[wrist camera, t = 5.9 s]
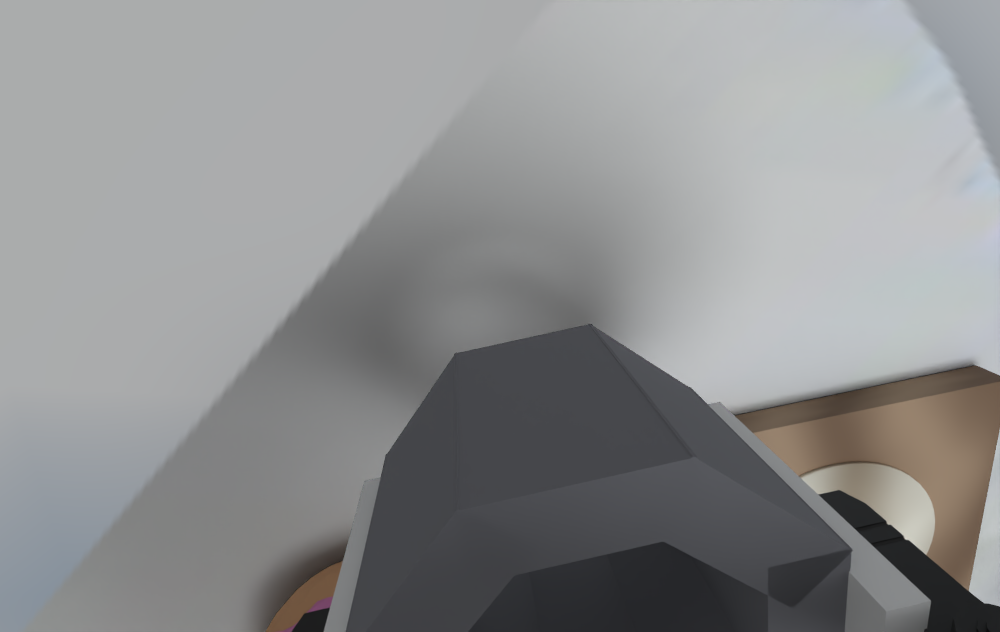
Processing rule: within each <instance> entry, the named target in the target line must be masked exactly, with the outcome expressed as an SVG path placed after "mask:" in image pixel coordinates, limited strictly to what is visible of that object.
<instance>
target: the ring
mask: <svg viewBox="0 0 1000 632" xmlns="http://www.w3.org/2000/svg"><path fill="white" fill-rule="evenodd" d="M852 551H853V550H852V548H851V547H850V546H849V545H848V544H847V543H846V542H845V541H844V540H843V539H842V538H841V537H840V536H839V535H838V534H837V533H836V532H835V531H834V530H833V529H832V528H831V527H830V526H829V525H828V524H827V523H826V522H825V521H824V520H823V519H822V518H821V517H820V516H819V515H818V514H817V513H816V512H815V511H814V510H813V509H812V508H811V507H810V506H809V505H808V504H807V503H806V502H805V501H804V500H803V499H802V498H801V497H800V496H799V495H798V494H797V493H796V492H795V491H794V490H793V489H792V488H791V487H790V486H789V485H788V484H787V483H786V482H785V481H784V480H783V479H782V478H781V477H780V476H779V475H778V474H777V473H776V472H775V471H774V470H773V469H772V468H771V467H770V466H769V465H768V464H767V463H766V462H765V461H764V460H763V459H762V458H761V457H760V456H759V455H758V454H757V453H756V452H755V451H754V450H753V449H752V448H751V447H750V446H749V445H748V444H747V443H746V442H745V441H744V440H743V439H742V438H741V437H740V436H739V435H738V434H737V433H736V432H735V431H734V430H733V429H732V428H731V427H730V426H729V425H728V424H727V423H726V422H725V421H724V420H723V419H722V418H721V417H720V416H719V415H718V414H717V413H716V412H715V411H714V410H713V409H712V408H711V407H710V406H709V405H708V404H707V403H706V402H705V401H704V400H703V399H702V398H701V397H700V396H699V395H698V394H697V393H696V392H695V391H694V390H693V389H692V388H691V387H688V386H686V385H685V384H683V383H681V382H680V381H678V380H677V379H675V378H674V377H672V376H670V375H669V374H667V373H666V372H664V371H663V370H661V369H660V368H658V367H656V366H655V365H653V364H652V363H650V362H649V361H647V360H645V359H644V358H642V357H641V356H639V355H638V354H636V353H634V352H633V351H631V350H630V349H628V348H627V347H625V346H623V345H622V344H620V343H619V342H617V341H616V340H614V339H613V338H611V337H609V336H608V335H606V334H605V333H603V332H602V331H600V330H598V329H597V328H595V327H594V326H593V325H592V324H588V325H584V326H580V327H575V328H571V329H566V330H561V331H557V332H552V333H548V334H543V335H538V336H534V337H529V338H525V339H520V340H516V341H511V342H506V343H502V344H497V345H493V346H488V347H483V348H479V349H474V350H470V351H465V352H460V353H456V354H454V357H453V358H452V360H451V361H450V363H449V364H448V365H447V367H446V368H445V370H444V371H443V373H442V374H441V376H440V377H439V379H438V380H437V382H436V383H435V385H434V386H433V387H432V389H431V390H430V392H429V393H428V395H427V396H426V398H425V399H424V401H423V402H422V404H421V405H420V407H419V408H418V410H417V411H416V412H415V414H414V415H413V417H412V418H411V420H410V421H409V423H408V424H407V426H406V427H405V429H404V430H403V432H402V433H401V435H400V436H399V437H398V439H397V440H396V442H395V443H394V445H393V446H392V448H391V449H390V451H389V452H388V454H386V456H385V461H384V465H383V470H382V474H381V478H380V483H379V487H378V492H377V496H376V500H375V505H374V509H373V514H372V518H371V522H370V527H369V531H368V535H367V540H366V544H365V549H364V553H363V557H362V562H361V566H360V571H359V575H358V579H357V584H356V588H355V593H354V597H353V601H352V606H351V610H350V615H349V619H348V623H347V628H346V632H845V620H846V605H847V591H848V576H849V571H850V568H851V553H852Z"/></svg>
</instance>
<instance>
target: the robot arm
mask: <svg viewBox="0 0 1000 632" xmlns="http://www.w3.org/2000/svg"><path fill="white" fill-rule="evenodd" d="M708 405H709V406H710V407H711V408H712V409H713V410H714V411H715V412H716V413H717V414H718V415H719V416H720V417H721V418H722V419H723V420H724V421H725V422H726V423H727V424H728V425H729V426H730V427H731V428H732V429H733V430H734V431H735V432H736V433H737V434H738V435H739V436H740V437H741V438H742V439H743V440H744V441H745V442H746V443H747V444H748V445H749V446H750V447H751V448H752V449H753V450H754V451H755V452H756V453H757V454H758V455H759V456H760V457H761V458H762V459H763V460H764V461H765V462H766V463H767V464H768V465H769V466H770V467H771V468H772V469H773V470H774V471H775V472H776V473H777V474H778V475H779V476H780V477H781V478H782V479H783V480H784V481H785V482H786V483H787V484H788V485H789V486H790V487H791V488H792V489H793V490H794V491H795V492H796V493H797V494H798V495H799V496H800V497H801V498H802V499H803V500H804V501H805V502H806V503H807V504H808V505H809V506H810V507H811V508H812V509H813V510H814V511H815V512H816V513H817V514H818V515H819V516H820V517H821V518H822V519H823V520H824V521H825V522H826V523H827V524H828V525H829V526H830V527H831V528H832V529H833V530H834V531H835V532H836V533H837V534H838V535H839V536H840V537H841V538H842V539H843V540H844V541H845V542H846V543H847V544H848V545H849V546H850V547H851V548H852V550H853V551H852V553H851V568H850V571H849V576H848V591H847V605H846V620H845V632H1000V607H999V606H995V605H991V604H984V603H983V602H982V601H980V600H979V599H978V598H976V597H975V596H974V595H972V594H971V593H970V592H969V591H968V590H967V589H965V588H964V587H963V586H962V585H961V584H960V583H958V582H957V581H956V580H955V579H954V578H953V577H951V576H950V575H949V574H948V573H947V572H946V571H944V570H943V569H942V568H941V567H940V566H939V565H937V564H936V563H935V562H934V561H933V560H932V559H930V558H929V557H928V556H927V555H926V554H924V553H923V552H922V551H921V550H920V549H919V548H917V547H916V546H915V545H914V544H913V543H912V542H910V541H909V540H906V539H905V538H904V536H903V535H902V534H901V533H900V532H899V531H898V530H896V529H895V528H894V527H893V526H892V525H891V524H890V525H888V524H887V522H886V520H885V519H884V518H882V517H881V516H880V515H879V514H878V513H876V512H875V511H874V510H873V509H872V508H871V507H869V506H868V505H867V504H866V503H864V502H862V501H860V500H858V499H856V498H854V497H852V496H850V495H848V494H846V493H845V492H843V491H841V490H836V491H832V492H828V493H823V494H819V495H818V494H817V493H816V492H815V491H814V490H813V489H812V488H811V487H810V486H809V485H807V484H806V483H805V482H804V481H803V480H802V479H801V478H800V477H799V476H798V475H797V474H796V473H795V472H794V471H793V470H792V469H790V468H789V467H788V466H787V465H786V464H785V463H784V462H783V461H782V460H781V459H780V458H779V457H778V456H777V455H776V454H775V453H774V452H772V451H771V450H770V449H769V448H768V447H767V446H766V445H765V444H764V443H763V442H762V441H761V440H760V439H759V438H758V437H757V436H755V435H754V434H753V433H752V432H751V431H750V430H749V429H748V428H747V427H746V426H745V425H744V424H743V423H742V422H741V421H740V420H738V419H737V418H736V417H735V416H734V415H733V414H732V413H731V412H730V411H729V410H728V409H727V408H726V407H725V406H724V405H723V404H721V403H720V402H717V403H713V404H708ZM379 483H380V478H376V479H372V480H367V481H365V482H364V485H363V489H362V493H361V496H360V500H359V504H358V507H357V511H356V515H355V518H354V522H353V526H352V529H351V533H350V537H349V540H348V544H347V548H346V551H345V555H344V559H343V562H342V566H341V570H340V573H339V577H338V581H337V584H336V588H335V592H334V595H333V599H332V603H331V606H330V607H329V608H325V609H321V610H316V611H312V612H308V613H304V614H303V616H302V617H301V619H300V620H299V622H298V623H297V624H296V626H295V627H294V629H293V630H292V632H346V628H347V623H348V619H349V615H350V610H351V606H352V601H353V597H354V593H355V588H356V584H357V579H358V575H359V571H360V566H361V562H362V557H363V553H364V549H365V544H366V540H367V535H368V531H369V527H370V522H371V518H372V514H373V509H374V505H375V500H376V496H377V492H378V487H379Z"/></svg>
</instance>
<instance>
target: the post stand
mask: <svg viewBox="0 0 1000 632" xmlns="http://www.w3.org/2000/svg"><path fill="white" fill-rule="evenodd" d="M735 417H736V418H737V419H738V420H740V421H741V422H742V423H743V424H744V425H745V426H746V427H747V428H748V429H749V430H750V431H751V432H752V433H753V434H754V435H755V436H757V437H758V438H759V439H760V440H761V441H762V442H763V443H764V444H765V445H766V446H767V447H768V448H769V449H770V450H771V451H772V452H774V453H775V454H776V455H777V456H778V457H779V458H780V459H781V460H782V461H783V462H784V463H785V464H786V465H787V466H788V467H789V468H790V469H792V470H793V471H794V472H795V473H796V474H797V475H798V476H799V477H800V478H801V479H802V480H803V481H804V482H805V483H806V484H807V485H809V486H810V487H811V488H812V489H813V490H814V491H815V492H816V493H817V494H818V495H819V494H823V493H828V492H832V491H836V490H841V491H843V492H845V493H846V494H848V495H850V496H852V497H854V498H856V499H858V500H860V501H862V502H864V503H866V504H867V505H868V506H869V507H871V508H872V509H873V510H874V511H875V512H876V513H878V514H879V515H880V516H881V517H882V518H884V519H885V520H886V522H887V524H888V525H890V524H891V525H892V526H893V527H894V528H895V529H896V530H898V531H899V532H900V533H901V534H902V535H903V536H904V538H905V539H906V540H909V541H910V542H912V543H913V544H914V545H915V546H916V547H917V548H919V549H920V550H921V551H922V552H923V553H924V554H926V555H927V556H928V557H929V558H930V559H932V560H933V561H934V562H935V563H936V564H937V565H939V566H940V567H941V568H942V569H943V570H944V571H946V572H947V573H948V574H949V575H950V576H951V577H953V578H954V579H955V580H956V581H957V582H958V583H960V584H961V585H962V586H963V587H964V588H965V589H967V590H968V591H969V585H970V580H971V575H972V570H973V564H974V559H975V554H976V549H977V544H978V538H979V533H980V528H981V523H982V518H983V512H984V507H985V502H986V497H987V492H988V486H989V481H990V476H991V471H992V466H993V460H994V455H995V450H996V445H997V440H998V434H999V429H1000V376H999V375H997V374H995V373H992V372H990V371H988V370H985V369H983V368H981V367H978V366H976V365H975V366H971V367H966V368H961V369H956V370H951V371H947V372H942V373H937V374H932V375H927V376H923V377H918V378H913V379H908V380H903V381H899V382H894V383H889V384H884V385H879V386H875V387H870V388H865V389H860V390H855V391H851V392H846V393H841V394H836V395H831V396H827V397H822V398H817V399H812V400H807V401H803V402H798V403H793V404H788V405H784V406H779V407H774V408H769V409H764V410H760V411H755V412H750V413H745V414H740V415H736V416H735Z"/></svg>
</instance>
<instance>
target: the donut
mask: <svg viewBox="0 0 1000 632" xmlns="http://www.w3.org/2000/svg"><path fill="white" fill-rule="evenodd" d="M342 562H343V561H341V562H338V563H336V564H333V565H331V566H329V567H327V568H326V569H324V570H322V571H321V572H319V573H318V574H316V575H314V576H313V577H311V578H310V579H309V580H308V581H307V582H305V583H304V584H303V585H302V586H301V587H299V588H298V589H297V590H296V591H295V592H294V594H293V595H292V596H291V597H290V598H289V599H288V601H287V602H286V603H285V604H284V605H283V606H282V607H281V609H280V610H279V611H278V612H277V613H276V615H275V616H274V618H273V620H272V621H271V623H270V625H269V626H268V628H267V630H266V632H292V630H293V629H294V627H295V626H296V624H297V623H298V622H299V620H300V619H301V617H302V616H303V614H304V613H308V612H312V611H316V610H321V609H325V608H329V607H330V606H331V603H332V599H333V595H334V592H335V588H336V584H337V581H338V577H339V573H340V570H341V566H342Z"/></svg>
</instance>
